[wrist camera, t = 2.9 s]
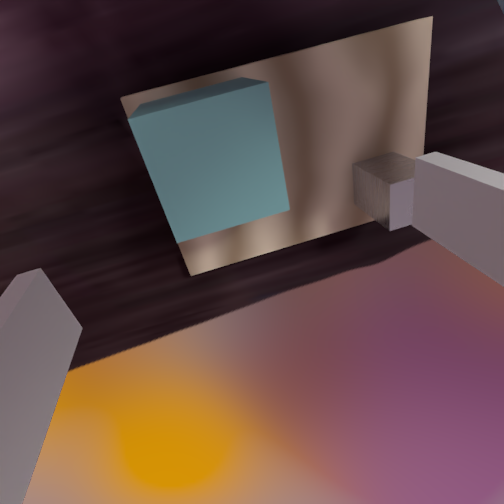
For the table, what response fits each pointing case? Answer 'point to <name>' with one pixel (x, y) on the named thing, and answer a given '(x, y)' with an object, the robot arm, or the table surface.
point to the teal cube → (213, 156)
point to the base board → (322, 132)
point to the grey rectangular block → (385, 189)
